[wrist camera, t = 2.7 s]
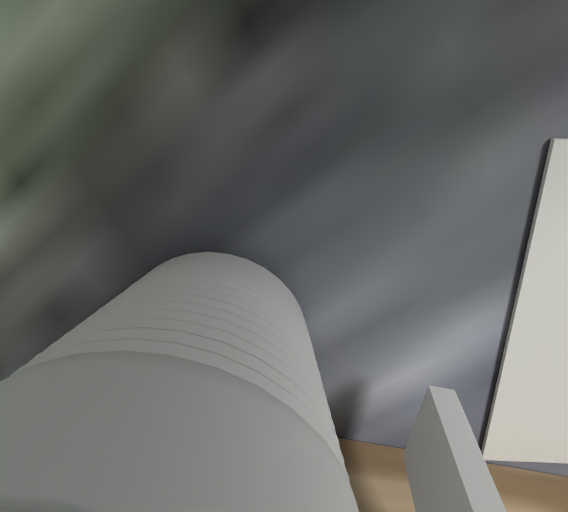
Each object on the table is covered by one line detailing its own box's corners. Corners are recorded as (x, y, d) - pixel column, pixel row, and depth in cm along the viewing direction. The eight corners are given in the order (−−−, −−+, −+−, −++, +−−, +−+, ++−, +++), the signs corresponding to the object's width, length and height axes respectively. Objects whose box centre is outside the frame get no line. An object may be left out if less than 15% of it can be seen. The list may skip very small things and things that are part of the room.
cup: (165, 462, 19) (-3, 930, 9) (19, 256, 15) (-534, 641, 5) (400, 393, 17) (532, 904, 7) (294, 138, 13) (237, 406, 3)
